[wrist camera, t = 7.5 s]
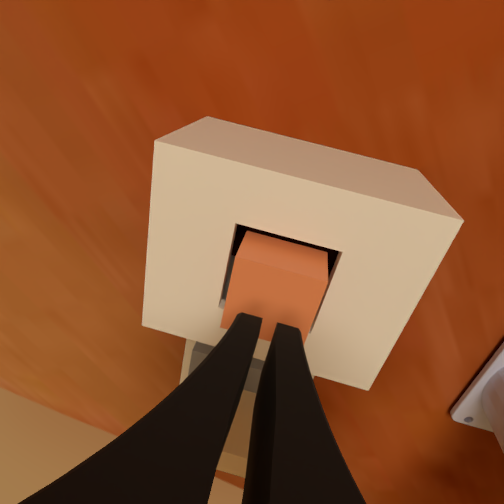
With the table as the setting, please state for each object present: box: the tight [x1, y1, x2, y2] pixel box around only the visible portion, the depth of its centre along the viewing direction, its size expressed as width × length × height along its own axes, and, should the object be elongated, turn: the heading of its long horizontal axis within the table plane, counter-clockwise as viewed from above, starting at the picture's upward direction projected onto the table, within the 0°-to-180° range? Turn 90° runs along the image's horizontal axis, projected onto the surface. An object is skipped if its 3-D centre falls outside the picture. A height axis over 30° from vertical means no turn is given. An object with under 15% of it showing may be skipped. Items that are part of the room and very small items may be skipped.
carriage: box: [188, 341, 265, 478], centre depth 19 cm, size 6×5×6 cm
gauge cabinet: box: [142, 116, 464, 391], centre depth 16 cm, size 10×8×6 cm
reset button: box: [220, 231, 328, 345], centre depth 13 cm, size 3×3×2 cm
